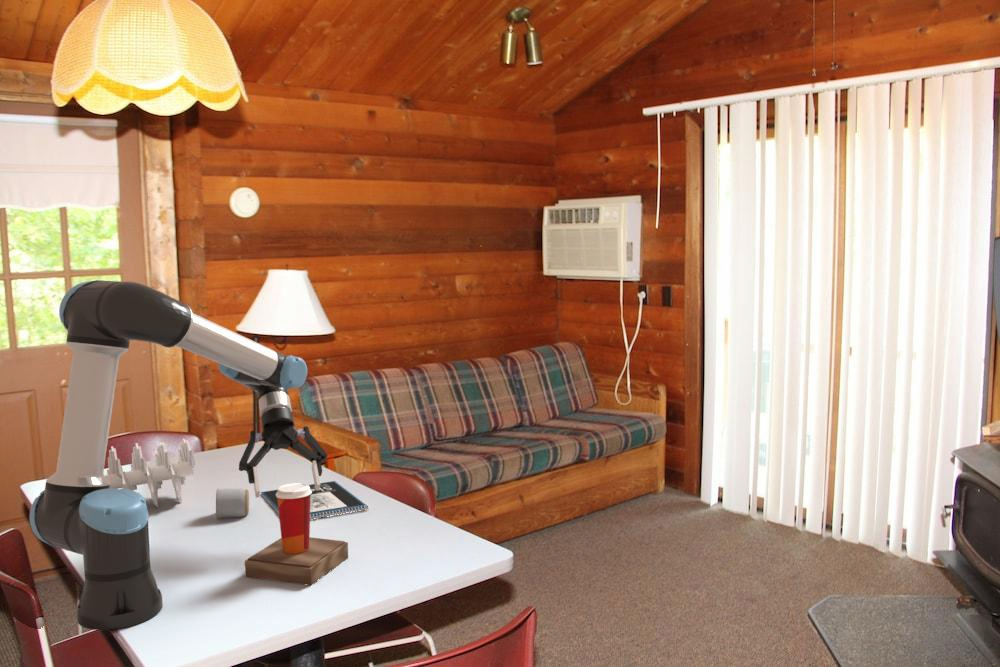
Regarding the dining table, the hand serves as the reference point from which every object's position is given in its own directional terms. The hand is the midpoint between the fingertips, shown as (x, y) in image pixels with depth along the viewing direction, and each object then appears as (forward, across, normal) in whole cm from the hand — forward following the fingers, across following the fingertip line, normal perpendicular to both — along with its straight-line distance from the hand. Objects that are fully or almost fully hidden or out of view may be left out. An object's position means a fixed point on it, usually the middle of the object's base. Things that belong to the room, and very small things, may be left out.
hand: (288, 491), depth 195 cm
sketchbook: (-14, -12, -35) cm, 39 cm away
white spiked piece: (-25, +30, -46) cm, 61 cm away
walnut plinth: (+18, 0, -3) cm, 18 cm away
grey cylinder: (-13, +10, -33) cm, 37 cm away
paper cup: (+15, 0, 0) cm, 15 cm away
